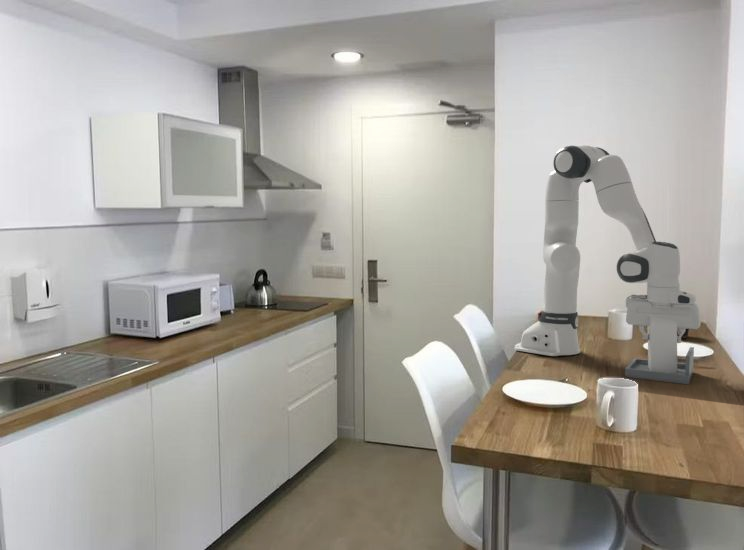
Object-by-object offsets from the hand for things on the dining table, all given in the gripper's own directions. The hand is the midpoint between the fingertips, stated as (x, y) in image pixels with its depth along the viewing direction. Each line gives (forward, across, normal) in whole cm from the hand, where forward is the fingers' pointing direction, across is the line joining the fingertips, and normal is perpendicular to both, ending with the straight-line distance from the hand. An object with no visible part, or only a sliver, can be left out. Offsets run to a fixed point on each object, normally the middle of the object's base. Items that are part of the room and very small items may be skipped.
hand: (661, 341), depth 183 cm
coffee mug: (+10, -2, +55) cm, 56 cm away
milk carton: (+9, 0, 0) cm, 9 cm away
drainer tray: (+10, 0, 0) cm, 10 cm away
